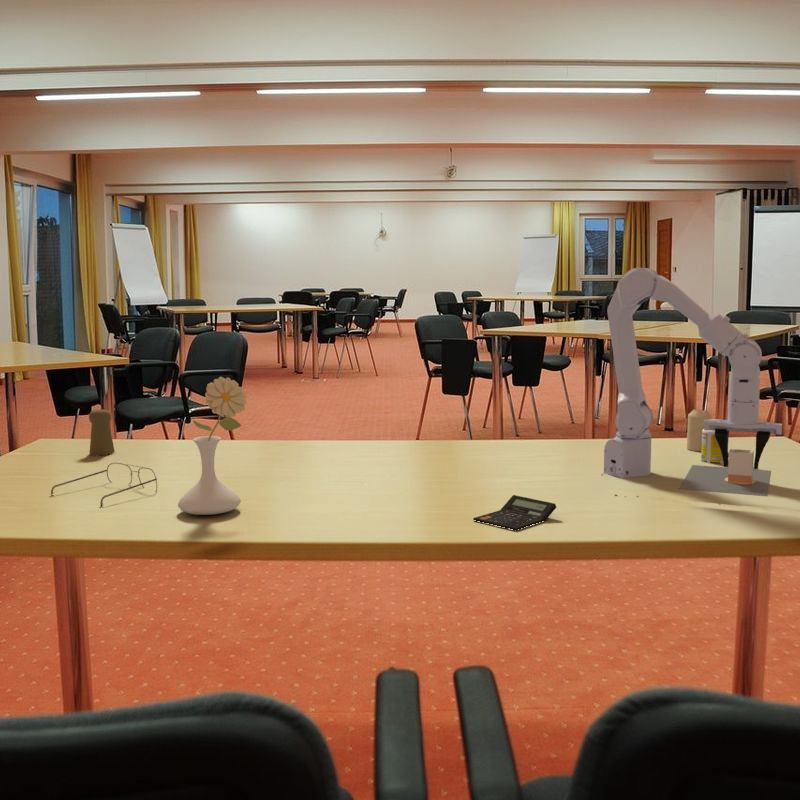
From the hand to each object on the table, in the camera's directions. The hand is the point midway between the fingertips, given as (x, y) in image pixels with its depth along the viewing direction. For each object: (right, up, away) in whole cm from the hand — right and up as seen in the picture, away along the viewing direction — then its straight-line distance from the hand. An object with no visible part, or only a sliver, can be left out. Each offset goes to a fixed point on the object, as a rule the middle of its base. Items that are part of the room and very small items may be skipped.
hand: (740, 467), depth 177 cm
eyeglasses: (-128, -6, 0) cm, 128 cm away
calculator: (-49, -8, -22) cm, 54 cm away
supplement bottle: (+2, -1, +21) cm, 21 cm away
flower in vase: (-103, -7, -15) cm, 105 cm away
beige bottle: (+5, +1, +39) cm, 39 cm away
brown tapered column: (-143, 0, +41) cm, 149 cm away
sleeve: (0, -3, 0) cm, 3 cm away
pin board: (-2, -4, +2) cm, 5 cm away
